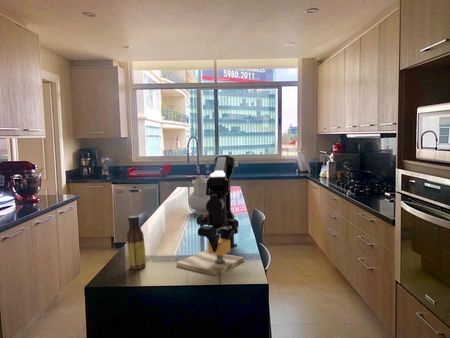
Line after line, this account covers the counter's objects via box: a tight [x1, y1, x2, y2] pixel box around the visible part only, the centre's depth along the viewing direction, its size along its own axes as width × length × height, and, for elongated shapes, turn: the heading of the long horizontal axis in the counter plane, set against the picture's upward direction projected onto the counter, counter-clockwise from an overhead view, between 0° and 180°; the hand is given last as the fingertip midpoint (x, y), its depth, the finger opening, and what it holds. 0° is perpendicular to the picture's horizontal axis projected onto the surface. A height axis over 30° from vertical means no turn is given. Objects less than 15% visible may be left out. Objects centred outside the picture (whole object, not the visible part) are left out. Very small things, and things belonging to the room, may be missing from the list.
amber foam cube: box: [207, 237, 231, 256], centre depth 139 cm, size 6×6×4 cm
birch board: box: [176, 249, 245, 276], centre depth 142 cm, size 18×19×5 cm
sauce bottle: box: [126, 215, 147, 271], centre depth 139 cm, size 7×6×20 cm
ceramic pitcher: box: [187, 174, 210, 216], centre depth 238 cm, size 22×20×25 cm
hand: (219, 249), depth 139 cm, fingers closed on amber foam cube, 6 cm apart
